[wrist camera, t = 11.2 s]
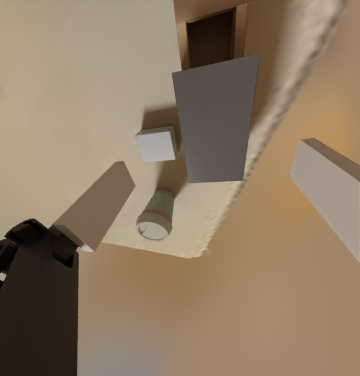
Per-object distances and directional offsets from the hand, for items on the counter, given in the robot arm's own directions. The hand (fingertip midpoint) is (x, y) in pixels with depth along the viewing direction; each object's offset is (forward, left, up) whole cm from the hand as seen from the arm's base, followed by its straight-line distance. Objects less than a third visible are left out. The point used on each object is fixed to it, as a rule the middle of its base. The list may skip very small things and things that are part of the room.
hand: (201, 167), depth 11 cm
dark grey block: (+1, +1, -18) cm, 18 cm away
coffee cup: (+20, -13, -19) cm, 30 cm away
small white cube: (+4, -10, -19) cm, 22 cm away
